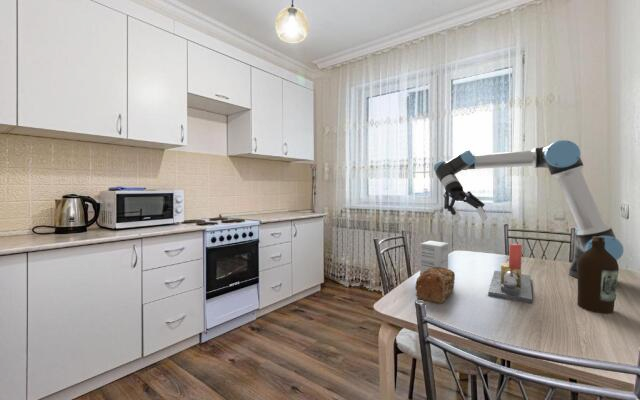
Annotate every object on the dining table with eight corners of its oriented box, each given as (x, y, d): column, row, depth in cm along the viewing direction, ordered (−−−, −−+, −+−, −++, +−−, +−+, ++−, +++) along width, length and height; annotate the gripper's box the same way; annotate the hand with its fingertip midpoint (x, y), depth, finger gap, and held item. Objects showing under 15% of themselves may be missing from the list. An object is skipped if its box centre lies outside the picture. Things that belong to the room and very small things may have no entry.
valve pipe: (494, 273, 147) (495, 251, 146) (529, 278, 139) (530, 255, 138) (488, 295, 118) (489, 268, 118) (532, 303, 111) (533, 274, 110)
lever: (505, 259, 130) (506, 238, 130) (516, 260, 128) (517, 239, 128) (509, 268, 116) (510, 245, 116) (521, 270, 115) (522, 246, 114)
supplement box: (428, 275, 144) (429, 240, 143) (448, 279, 138) (449, 242, 137) (419, 280, 137) (419, 243, 136) (439, 284, 131) (440, 246, 130)
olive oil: (567, 303, 110) (570, 235, 109) (590, 300, 113) (593, 234, 111) (600, 315, 100) (604, 240, 99) (624, 312, 102) (628, 239, 101)
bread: (443, 305, 109) (443, 278, 108) (413, 298, 115) (414, 272, 115) (455, 290, 124) (456, 266, 123) (429, 285, 130) (429, 262, 130)
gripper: (470, 190, 157) (491, 223, 143) (426, 191, 151) (444, 225, 138) (477, 180, 151) (500, 213, 138) (432, 180, 146) (452, 214, 132)
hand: (472, 219), depth 138 cm, fingers open, 13 cm apart
